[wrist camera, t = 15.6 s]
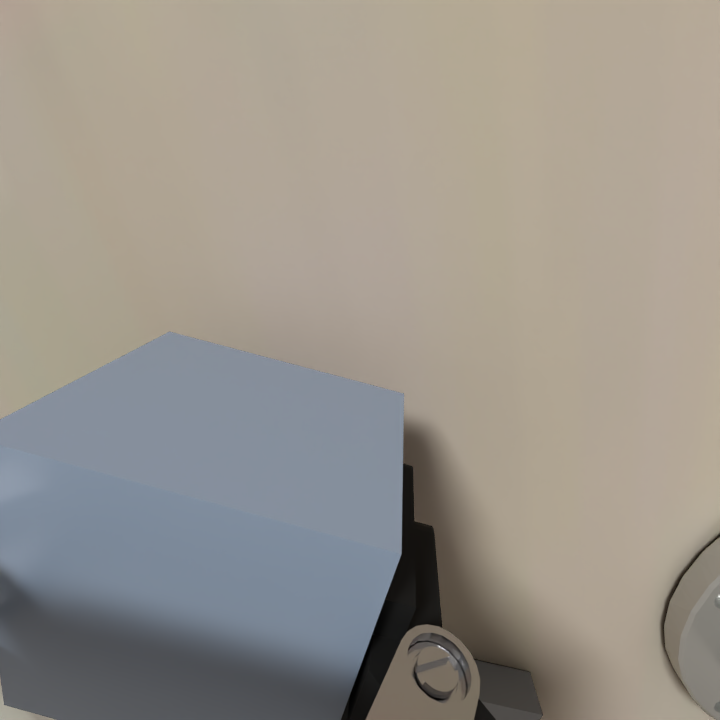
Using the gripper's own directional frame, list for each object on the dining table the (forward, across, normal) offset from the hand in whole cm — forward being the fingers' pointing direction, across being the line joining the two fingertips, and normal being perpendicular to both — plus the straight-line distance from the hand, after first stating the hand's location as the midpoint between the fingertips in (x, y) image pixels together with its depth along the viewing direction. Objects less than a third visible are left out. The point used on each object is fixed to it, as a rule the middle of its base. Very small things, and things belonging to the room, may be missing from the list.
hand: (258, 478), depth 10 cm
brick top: (+1, 0, 0) cm, 1 cm away
